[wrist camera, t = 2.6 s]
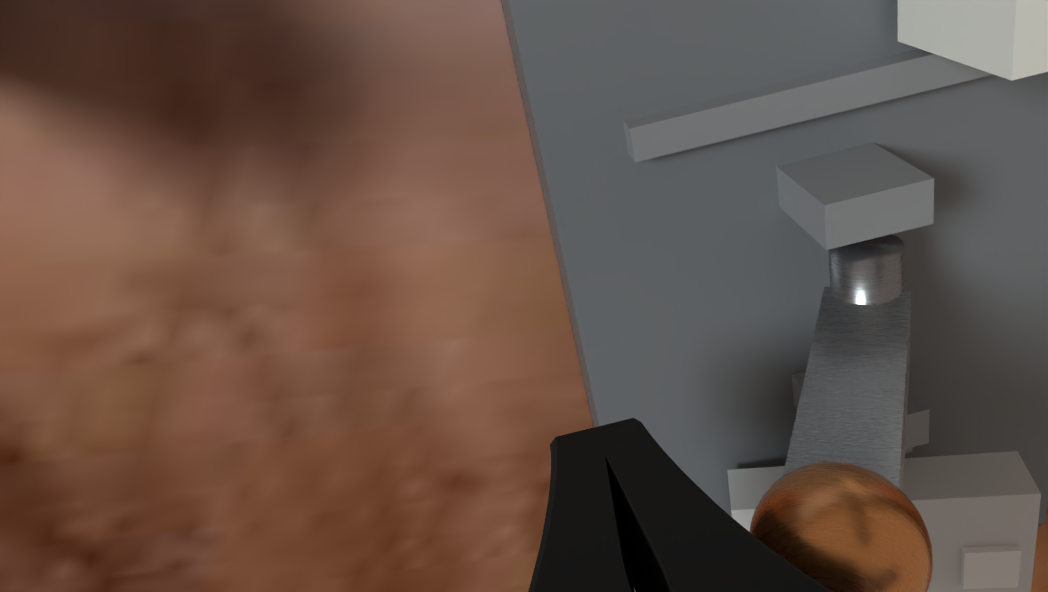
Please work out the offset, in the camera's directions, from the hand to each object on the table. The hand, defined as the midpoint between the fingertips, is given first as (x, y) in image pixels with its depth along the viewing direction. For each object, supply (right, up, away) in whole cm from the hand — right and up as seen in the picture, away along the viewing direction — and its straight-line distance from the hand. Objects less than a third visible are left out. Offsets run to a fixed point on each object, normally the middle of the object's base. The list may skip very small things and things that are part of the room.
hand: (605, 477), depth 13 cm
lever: (+5, +2, +2) cm, 6 cm away
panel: (+4, +4, +5) cm, 8 cm away
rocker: (+6, -2, +5) cm, 8 cm away
